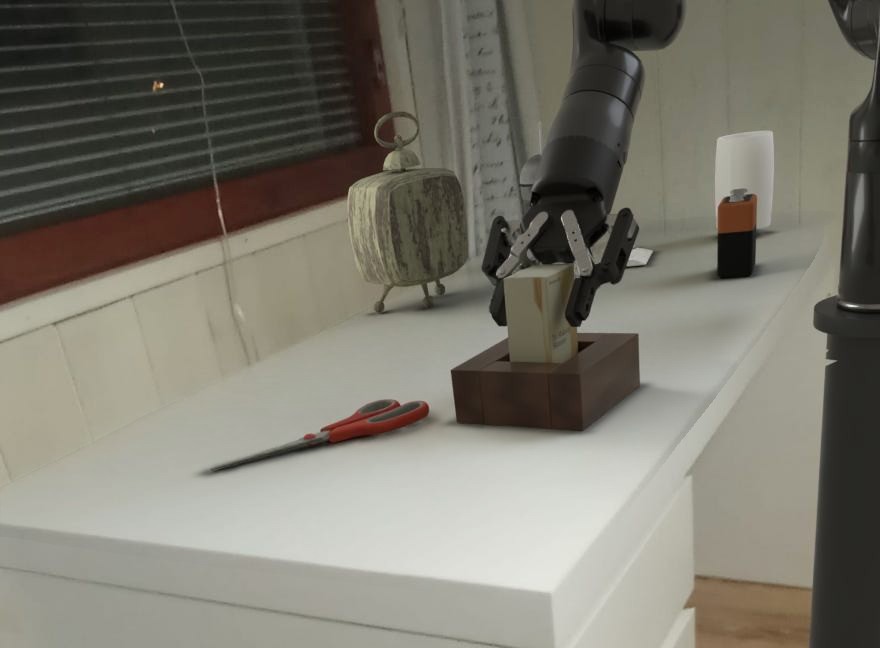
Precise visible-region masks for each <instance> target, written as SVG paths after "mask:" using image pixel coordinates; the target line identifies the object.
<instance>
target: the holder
mask: <svg viewBox="0 0 880 648" xmlns="http://www.w3.org/2000/svg"><path fill="white" fill-rule="evenodd" d="M577 336H578V354H576V355H575V356H573V357H572V358H570V359H569V360H567V361H566V362H564V363H538V362H510V353H509V340H508V337H506V338H504V339H502V340H501V341H499V342H497V343H495V344H493V345H492V346H490V347H487V348H486V349H484V350H483V351H481V352H480V353H478V354H476V355H475V356H472V357H470V358H469V359H467V360H466V361H464V362H462V363H460V364H458V365H457V366H455V367H453V368H452V369H450V378H451V385H452V393H453V402H454V410H455V419H456V423H459V424H472V425H474V424H476V425H491V426H503V427H504V426H505V427H520V428H535V429H552V430H564V431H565V430H566V431H579V432H583V431H585V430H586V429H587V428H589V427H590V426H591V425H592V424H594V423H595V422H596V421H597V420H599V419H600V418H601V417H602V416H603V415H605V414H606V413H607V412H609V411H610V410H611V409H613V408H614V407H615V406H616V405H618V404H619V403H620V402H622V401H623V400H624V399H626V398H627V397H628V396H629V395H630V394H631V393H632V392H634V391H635V390H637V389H638V388H639V387H640V386H641V374H640V373H641V372H640V340H639V339H640V338H639V336H640V335H639V333H638V332H577Z"/></svg>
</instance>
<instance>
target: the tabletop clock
mask: <svg viewBox="0 0 880 648" xmlns="http://www.w3.org/2000/svg"><path fill="white" fill-rule="evenodd" d="M394 118H405V119H408V120H410V121H412V122H413V124H414V126H415V132H414V133H413V134H412V135H411V136H410V137H408V138H407V139H404V140H403V137H402V135H400V134H396V135H395V136H394V137H393V139H394V142H387V141H384V140H382V139H380V137H379V130H380V128H381V126H382V125H383V124H384V123H385V122H386V121H388V120H392V119H394ZM419 132H420V124H419V122H418V120H417V118H416V117H415V116H414V115H413V114H412V113H410V112H408V111H392V112H389V113H387V114H384V115H383V116H381V118H379V119H378V121H377V123H376V124H375V127H374V138H375V141H376V142H377V143H378V144H379V145H380V146H381V147H383V148H387V149H395V150H393V151H390V153H388V154H387V156H386V157H385V159H384V163H383V166H382V167H383V168H382V171H383V172H380V173H376V174H372V175H370V176H365V177H364V178H361V179H359V180H358V181H356V182H354V183H353V184H352V185H350V187H349V189H348V194H347V213H346V214H347V222H348V232H349V233H348V234H349V240H350V245H351V249H352V253H353V258H354V262H355V264H356V265H355V266H356V268H357V271H358V273H359V275H360V277H361V279H362V280H363V282H367V283H371V284H376V285H383V289H382V293H381V295H380V298H379V300H376V301H375V302H373V308H372V309H373V310H374V311H375V312H376V313H379V314H380V313H382V312H383V311H384V310H385V303H384V302H385V299H386V298H387V296H388V294H389V292H390V291H391V290H392V289H393V288H395V287H397V288H408V287H414V286H419V285H420V286H421V289H422V291H423V294H424V297H423V299H422V304H423V306H424V307H425V308H428V309H429V308H432V307H433V306H434V305H435V297H433V296H432V295H430V294H429V288H428V284H430V283H433V282H434V283H435V284H436V285H435V286H434V293H435V294H436V295H437V296H442V295H444V294H445V293H446V286H445V285H444V284H443V283H441V279H444V278H447V277H449V276H451V275H453V274H455V273H457V272H458V271H459V270H460V269H462V267H464V266H465V264H466V263H467V260H468V254H469V237H468V234H469V233H468V218H467V212H466V205H465V199H464V193H463V189H462V185H461V183H460V181H459V179H458V177H457V175H456V173H455V171H454V170H451V169H448V168H445V167H425V168H423V167H422V168H421V167H420V168H414V167H417V166H420V165H421V164H422V163H421V162H420V158H419V157H418V156H417V154H416V153H415V152H414V151H413V150H411V149H407V148H406V149H405V148H404V147H405V146H409V145H410V144H411V143H413V142H414V141H415V140H416V139H417V137H418V135H419Z"/></svg>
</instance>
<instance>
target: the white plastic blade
mask: <svg viewBox="0 0 880 648" xmlns="http://www.w3.org/2000/svg"><path fill="white" fill-rule="evenodd" d="M635 243H636V242H635ZM635 243H634V246H633V249H632V251H631V254H630V257H629V260H628V263H627V265H626V267H636V266H637V267H638V266H646V265H647V263H648V261H649V260H650V258H651V256H652V254H653V252H654V250H652V249H647V248H642V247H636V246H635V245H636V244H635Z"/></svg>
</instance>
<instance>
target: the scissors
mask: <svg viewBox="0 0 880 648" xmlns="http://www.w3.org/2000/svg"><path fill="white" fill-rule="evenodd" d="M429 413H430V406H429V404H428V403H427V402H426V401H424V400H413V401H409V402H406V403H404V404H402V405H401V403H400V402H399V401H398V400H396V399H393V398H392V399H391V398H390V399H388V398H387V399H379V400H374V401H372V402H369V403H367V404H365V405H363V406H361V407H359V408H358V409H357V410H356V411H355V412H354V413H353V414H351V415H350V416H348V417H346V418H343V419H341V420H338V421H336V422H334V423H330V424H329V425H328V424H327V425H326V426H323V427H322V428H320V431H319V432H316V433H306V434H305V435H304V436H302V437H300V438H298V439H296V440H294V441H291V442H287V443H284V444H281V445H278V446H275V447H272V448H269V449H266V450H263V451H259V452H257V453H252V454H250V455H247V456H244V457H241V458H238V459H235V460H232V461H229V462H225V463H223V464H219V465H217V466H214V467H211V468H210V471H215V470H219V469H222V468H227V467H230V466H234V465H237V464H241V463H245V462H248V461H252V460H256V459H260V458H264V457H267V456H271V455H276V454H279V453H283V452H286V451H290V450H295V449H298V448H305V447H306V448H307V447H309V448H310V447H314V446H315V445H317V444H319V443H323V442H327V441H329V443H333V444H334V443H338V442H341V441H346V440H349V439H352V438H358V437H364V436H376V435H382V434H386V433H390V432H393V431H396V430H400V429H402V428H405V427H407V426H410V425H412V424H415V423H417V422H419V421H421V420H423V419H425V418H426V417H428V415H429Z"/></svg>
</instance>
